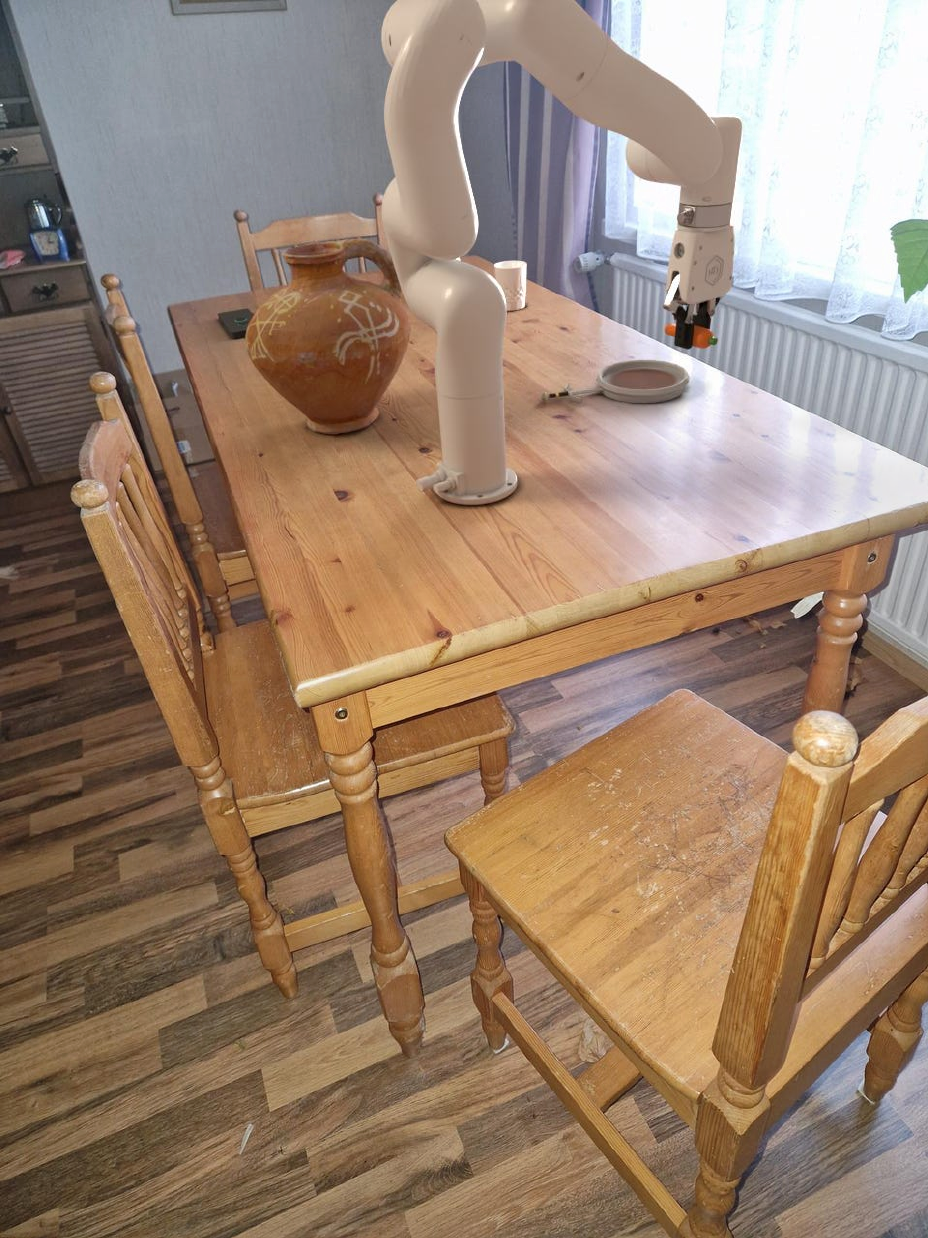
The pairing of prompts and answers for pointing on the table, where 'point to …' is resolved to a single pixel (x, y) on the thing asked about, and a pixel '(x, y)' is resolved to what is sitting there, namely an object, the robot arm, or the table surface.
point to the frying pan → (635, 382)
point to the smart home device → (236, 322)
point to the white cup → (512, 282)
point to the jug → (332, 335)
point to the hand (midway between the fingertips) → (691, 343)
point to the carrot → (696, 336)
